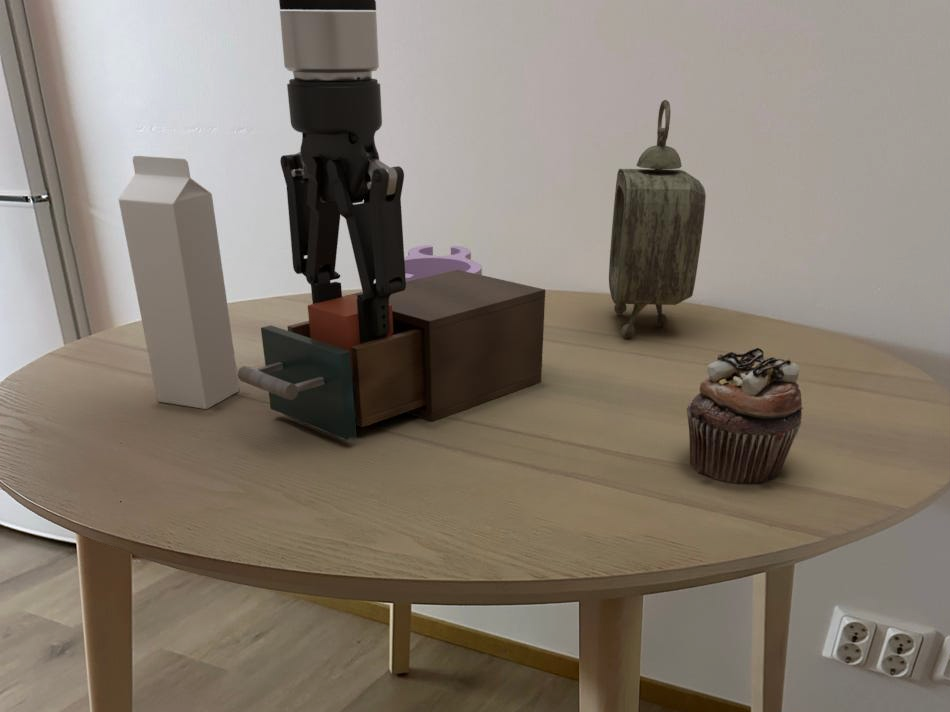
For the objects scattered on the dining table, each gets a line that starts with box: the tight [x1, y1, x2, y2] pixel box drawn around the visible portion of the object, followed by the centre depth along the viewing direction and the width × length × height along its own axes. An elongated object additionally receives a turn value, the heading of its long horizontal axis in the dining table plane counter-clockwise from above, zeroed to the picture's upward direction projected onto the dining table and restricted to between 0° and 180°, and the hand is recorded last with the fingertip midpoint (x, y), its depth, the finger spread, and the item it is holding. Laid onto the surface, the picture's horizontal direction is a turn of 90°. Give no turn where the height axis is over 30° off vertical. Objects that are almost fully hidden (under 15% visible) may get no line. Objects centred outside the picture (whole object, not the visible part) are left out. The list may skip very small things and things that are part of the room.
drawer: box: [237, 320, 426, 441], centre depth 88 cm, size 20×11×8 cm, turn 137°
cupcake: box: [686, 347, 804, 485], centre depth 79 cm, size 10×10×10 cm
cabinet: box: [342, 270, 546, 422], centre depth 95 cm, size 17×13×10 cm
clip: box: [404, 244, 483, 282], centre depth 118 cm, size 20×12×7 cm, turn 176°
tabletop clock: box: [608, 99, 707, 339], centre depth 111 cm, size 14×9×25 cm, turn 178°
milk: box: [118, 155, 240, 410], centre depth 89 cm, size 6×6×22 cm
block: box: [307, 294, 393, 377], centre depth 86 cm, size 6×6×6 cm
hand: (353, 361), depth 88 cm, fingers closed on block, 5 cm apart
